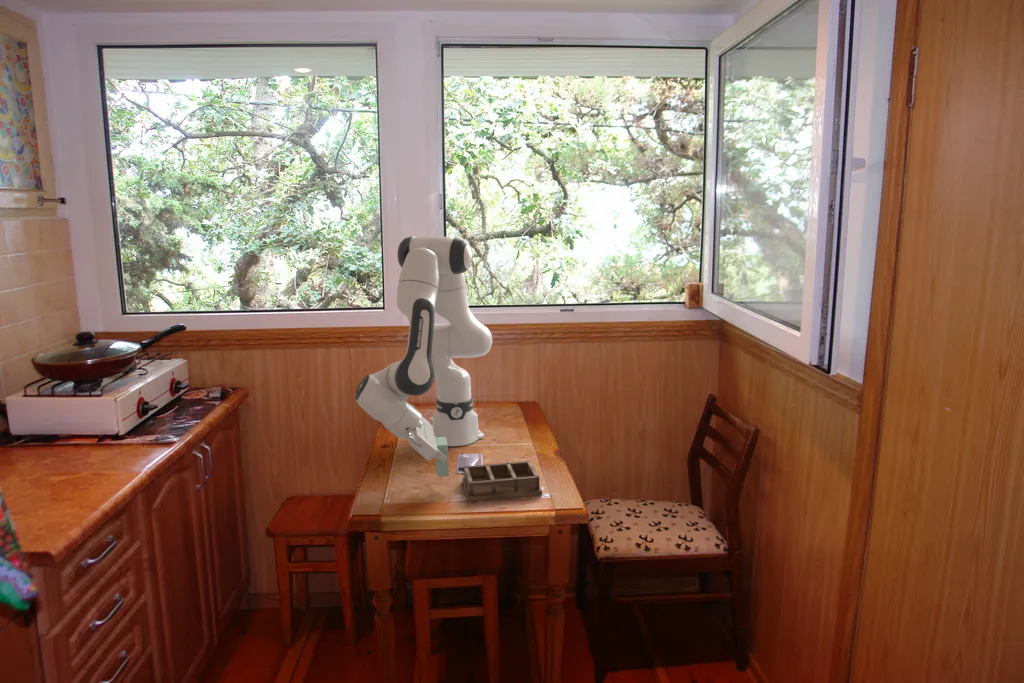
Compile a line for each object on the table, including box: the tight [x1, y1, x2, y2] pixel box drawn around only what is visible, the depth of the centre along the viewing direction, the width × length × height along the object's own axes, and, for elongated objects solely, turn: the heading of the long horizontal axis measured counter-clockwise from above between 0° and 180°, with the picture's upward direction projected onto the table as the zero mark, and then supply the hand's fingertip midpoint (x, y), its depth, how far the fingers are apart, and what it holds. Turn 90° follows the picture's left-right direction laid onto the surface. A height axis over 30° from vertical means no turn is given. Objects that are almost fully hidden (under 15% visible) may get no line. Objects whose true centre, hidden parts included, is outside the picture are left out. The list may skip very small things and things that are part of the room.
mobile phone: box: [456, 453, 483, 475], centre depth 216 cm, size 8×1×15 cm
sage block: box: [435, 437, 450, 478], centre depth 195 cm, size 6×3×9 cm, turn 11°
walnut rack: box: [461, 460, 543, 503], centre depth 197 cm, size 14×20×5 cm
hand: (444, 453), depth 195 cm, fingers closed on sage block, 6 cm apart
